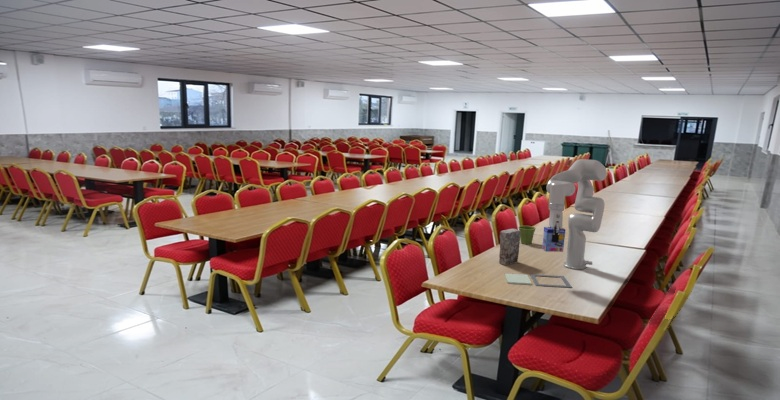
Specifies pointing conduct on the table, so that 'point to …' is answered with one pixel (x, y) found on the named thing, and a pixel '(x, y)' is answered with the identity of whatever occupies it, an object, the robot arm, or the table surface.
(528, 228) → the plant pot
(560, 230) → the ink cartridge box
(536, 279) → the marked spot frame
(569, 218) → the robot arm
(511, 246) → the stone block
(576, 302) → the table surface
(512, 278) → the sage board
